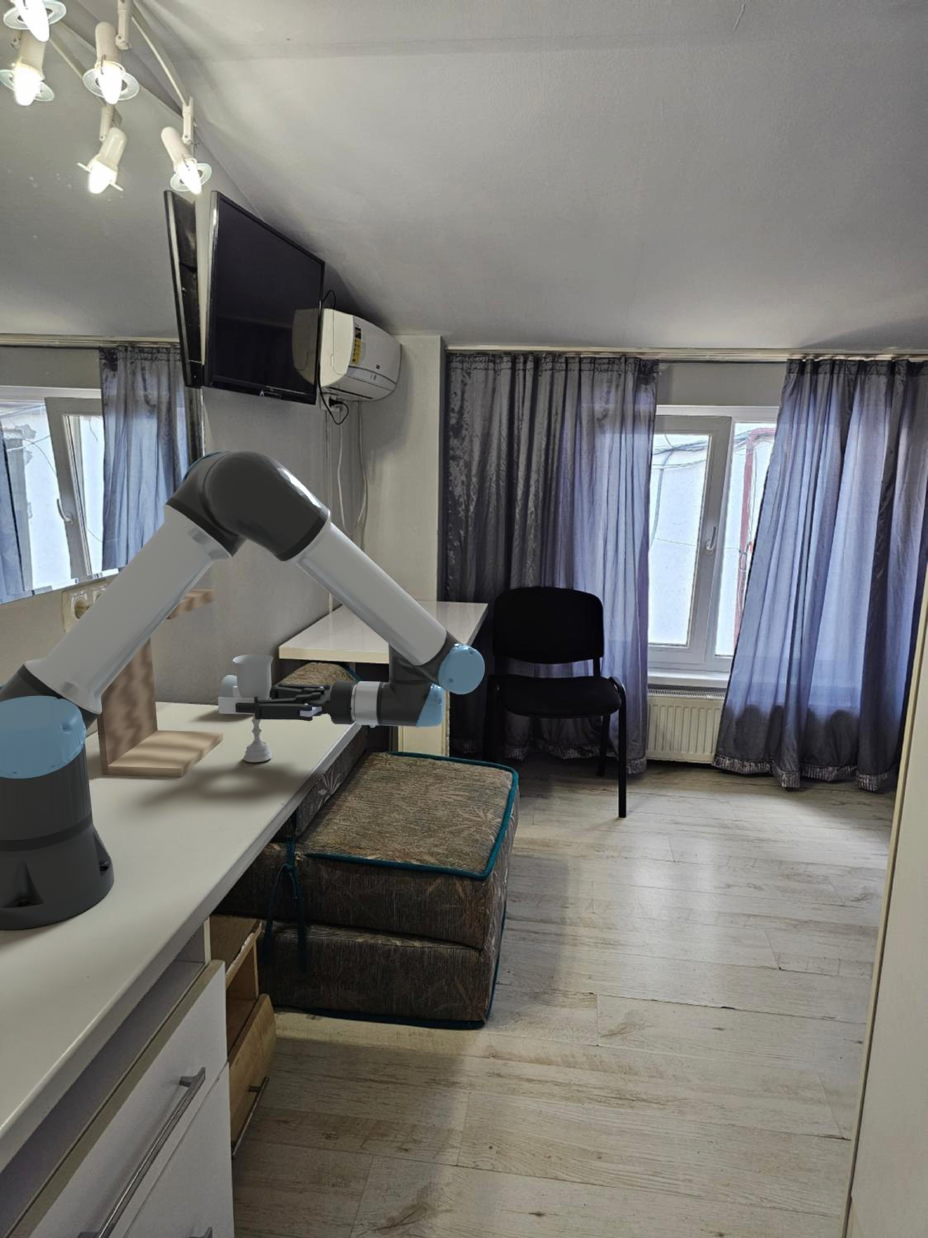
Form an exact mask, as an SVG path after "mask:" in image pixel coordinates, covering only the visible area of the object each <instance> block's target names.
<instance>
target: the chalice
mask: <svg viewBox="0 0 928 1238" xmlns="http://www.w3.org/2000/svg"><path fill="white" fill-rule="evenodd" d="M273 661H274V657H273V656H272V655H269V654H264V653H252V654H251V653H248V654H242V655H238V656H235V657H234V658H233V659H232V662H233V664H234V665H235V668H236V669H235V671H236V676H237V688H238V690H239V693H240V695H241V698H254V697H255V696H258V700H267V698H268V696H269V692H270V689H271V687H272V667H271V666H272V665H271V664H272V662H273ZM252 715H253V716H252V719H251V723H252V724H253V728H252V730H251V733H252V734H253V736H254V738H253V741H252V742H251V743H248V745H247V747H246V750H245V751H244V755H243V758H242V759H243V760H244V761H246V762H250V763H259V762H260V763H261V762H265V761H268V760H269V759H272V758H273V753H272V752H271V749H270V748H269V745H268V744H267V742H264V741H262V740H261V738H260V734H261V732H262V729H261V728H260V723H261V721H262V720H257V719H255V714H252Z"/></svg>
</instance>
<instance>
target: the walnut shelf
mask: <svg viewBox="0 0 928 1238" xmlns="http://www.w3.org/2000/svg"><path fill="white" fill-rule="evenodd" d="M215 600H216V599H215V589H199V588H198V589H197V588H196V589H195V588H192V589H191V590H190V591H189V592H188V593H187V594H186V596H185V597H184V598H183V599H182V600H181V602H180V603H179V604H178V605H177V606H176V607H175V609H174V610H173V611H172V612H171V613H170V615H169V616H168V617H167V618H166V619H165V620H172V619H175V618H177V617H180V616H182V615H185V614H186V613H189V612H192V611H194V610H195V609H198V608H200V607H203V606H205V605H207V604H210V603H212V602H214V601H215ZM92 604H93V603H90V604H88V605H85V606H86V607H85V608H86V610H85V611H87V610H88V609H89V608H90V606H91V605H92ZM151 641H152V640H151V637H150V638H149V639H148V640H147V642H146V643H145V644H144V645H143V646H142V648H141V649H140V650H139V651H138V652H137V653H136V655H135V656H134V657H133V658H132V659H131V661H130V662H129V663H128V664H127V665H126V666H125V668H124V669H123V670H122V671H121V672H120V674H119V675H118V676H117V677H116V678H115V679H114V681H113V682H112V683H111V684H110V685H109V686H108V688H107V689H106V690H105V691H104V692H103V694H102V695H101V704H102V712H101V714H100V715H99V716H98V717H97V718H96V724H97V728H96V729H97V736H98V746H99V747H98V748H99V749H98V750H99V757H100V769H101V775H116V776H117V775H119V776H120V775H121V776H122V775H123V776H143V777H144V776H147V777H176V778H178V777H179V778H182V777H184V776H185V775H186V774H187V773H188V772H189V771H190V770H192V768H194V766H196V765H197V764H198V763H199V762H200V761H201V760H202V759H203V758H205V757H206V755H208V754H209V753H210V752H211V751H212V750H213V749H214V748H216V747H217V746H218V745H219V744H220V743H221V742H222V741H223V740H224V737H223V736H224V735H223V734H224V733H223V731H197V730H196V731H195V730H193V731H192V730H167V729H165V730H164V729H163V730H161V729H158V720H157V719H158V717H157V707H156V706H157V705H156V703H157V702H156V693H155V692H156V691H155V690H156V689H155V680H154V665H153V655H152V653H153V652H152V642H151Z"/></svg>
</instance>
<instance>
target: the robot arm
mask: <svg viewBox="0 0 928 1238" xmlns="http://www.w3.org/2000/svg"><path fill="white" fill-rule="evenodd" d="M181 480H182V481H181V483H180V487H178V488H177V490H176V491H175V492H174V493H173V494H172V495H171V497H170V498H169V499H168V500H167V501H166V502H165V504H164V505H163V506H162V510H163V518H164V519H163V520H164V521H163V523H162V524H161V525H160V527H158V529H157V530H155V531H156V532H154V533H153V534H152V536H151V537H150V538H149V539H148V540H147V542H145V544H144V545H143V546H141V548H140V549H139V551H138V552H137V553H136V554H135V555H134V556H133V558H131V559H130V561H129V562H128V563H127V564H126V565H125V567H124V568H122V570H121V571H120V572H119V573H118V574H117V576H116V577H115V578H114V579H113V580H112V581H111V582H110V583H109V585H107V587H106V588H104V590H103V592H102V593H101V594H100V595H99V596H98V597H97V599H96V600H94V601H93V603H91V604H92V605H91V606H90V608H89V609H88V610H85V612H84V613H83V614H82V615H81V617H79V619H77V621H76V623H75V624H73V625H72V627H71V628H70V629H69V630H68V631H67V632H66V634H65V635H64V636H63V637H62V638H61V640H60V641H58V643H57V644H56V645H55V646H54V647H53V649H52V650H51V651H50V652H49V653H48V654H47V655H46V656H45V657H43V658H39V659H38V658H37V659H31V660H26V661H25V662H24V663H23V664H22V665H21V666H20V667H19V669H18V670H17V671H16V672H15V673H14V674H13V675H12V676H11V677H10V679H8V681H7V682H5V683H3V684H1V685H0V930H22V929H30V928H36V927H42V926H46V925H49V924H54V923H57V922H60V921H64V920H66V919H70V918H71V917H73V916H76V915H78V914H80V913H83V912H84V911H86V910H88V909H90V908H91V907H93V906H94V905H96V904H97V903H99V902H100V901H101V900H103V899H104V898H105V897H106V896H107V895H108V893H109V892H110V891H111V890H112V888H113V887H114V884H115V875H114V874H115V872H114V864H113V861H112V857H111V856H110V854H109V852H108V850H107V848H106V846H105V844H104V842H103V840H102V839H101V837H100V834H99V832H98V830H97V829H96V826H95V823H94V819H93V811H92V810H93V809H92V808H93V807H92V798H91V797H92V796H91V790H90V779H89V770H88V769H89V768H88V759H87V747H86V739H87V731H88V729H89V728H90V727H91V726H92V724H93V723H94V722H95V721H97V717H98V716H99V715H100V714H101V712H102V704H101V695H102V694H103V692H104V691H105V690H106V689H107V688H108V686H109V685H110V684H111V683H112V682H113V681H114V679H115V678H116V677H117V676H118V675H119V674H120V672H121V671H122V670H123V669H124V668H125V666H126V665H127V664H128V663H129V662H130V661H131V659H132V658H133V657H134V656H135V655H136V653H137V652H138V651H139V650H140V649H141V648H142V646H143V645H144V644H145V643H146V642H147V640H148V639H149V638H151V637H152V636H153V635H154V633H155V632H156V631H157V629H159V627H160V626H162V624H163V623H164V621H166V620H167V619H166V618H167V617H168V616H169V615H170V613H171V612H172V611H173V610H174V609H175V607H176V606H177V605H178V604H179V603H180V602H181V600H182V599H183V598H184V597H185V596H186V594H187V593H188V592H189V591H190V590H191V589H193V587H194V586H196V584H197V583H198V582H199V581H200V579H201V578H202V577H203V576H204V575H205V573H206V572H207V571H208V570H209V569H210V567H211V566H212V565H213V564H214V563H216V562H218V561H219V562H221V561H227V560H228V561H229V560H231V559H232V558H233V557H234V556H235V555H236V553H238V551H239V550H240V549H241V547H242V546H243V545H244V544H245V543H246V542H247V541H250V542H252V543H254V544H256V545H258V546H260V547H261V548H263V549H264V550H266V551H268V552H269V553H270V554H272V555H273V556H274V557H275V558H276V559H277V560H279V561H280V562H281V563H283V564H286V563H293V564H295V565H296V566H297V567H298V568H299V569H300V570H302V571H303V572H304V573H305V574H306V575H307V576H308V577H310V578H311V579H312V580H314V581H315V582H316V584H319V586H320V587H322V588H323V589H324V590H325V591H326V592H327V593H328V594H330V595H331V596H332V597H333V598H335V600H337V601H338V602H339V603H340V604H341V605H342V606H344V607H345V608H346V609H348V611H350V612H351V613H352V614H353V615H355V616H356V617H357V619H359V620H360V621H361V622H363V624H365V625H366V626H367V627H369V628H370V630H372V631H373V632H374V633H375V634H377V635H378V636H379V637H380V638H381V639H382V640H384V641H385V642H386V643H387V644H388V646H387V647H388V670H389V671H388V672H389V673H388V674H389V675H388V679H389V680H388V682H387V681H386V682H385V681H364V680H363V681H362V680H360V681H358V683H356V681H353V680H352V681H349V680H337V681H334V682H333V684H332V686H331V684H305V683H304V684H301V683H298V684H297V683H282V682H280V683H277V684H276V685H271V689H270V692H269V696H268V698H267V700H258V696H255V697H254V698H241V695H240V693H239V690H238V688H237V686H234V687H233V697H219V698H217V704H218V705H217V708H218V714H224V715H225V714H232V715H253V714H255V719H257V720H261V721H262V720H271V721H272V720H274V721H275V720H278V721H280V720H283V721H287V720H288V721H292V720H294V721H304V722H312V721H313V719H314V718H313V717H322V715H329V716H330V721H331V722H332V724H334V725H351V726H352V725H353V724H355V722H356V724H357V725H358V726H360V725H361V726H369V727H370V728H375V727H376V726H392V727H406V728H407V727H409V728H410V727H411V728H412V727H413V728H431V727H439V726H440V725H442V723H443V722H444V719H445V710H446V694H445V693H446V692H448V693H449V692H451V693H453V694H456V695H466V694H469V693H471V692H473V691H474V690H475V689H476V688H478V686H479V685H480V684H481V682H482V680H483V677H484V675H485V667H486V666H485V660H484V658H483V656H482V654H481V652H479V651H478V650H477V649H475V648H473V647H472V646H471V645H469V644H466V643H462V642H461V641H459V639H458V638H456V637H455V636H454V635H453V634H452V633H451V632H450V631H448V630H447V629H446V628H445V627H444V626H443V625H442V624H440V622H438V620H437V619H436V618H435V617H434V616H432V614H431V613H429V612H428V611H427V610H426V609H425V608H424V607H423V606H421V605H420V604H419V603H418V601H416V600H415V599H414V598H413V597H412V596H411V595H410V594H409V593H407V592H406V590H404V589H403V588H402V587H401V586H400V585H399V584H398V583H397V582H396V580H394V579H393V578H392V577H390V576H389V574H387V573H386V572H385V570H383V569H382V568H381V567H380V566H379V565H378V564H376V562H374V561H373V559H371V558H370V557H369V556H368V555H367V554H366V553H365V552H364V551H363V550H362V549H361V548H360V547H359V546H358V545H356V543H354V542H353V541H352V540H351V539H350V538H349V537H348V536H347V535H346V534H345V533H343V532H342V531H341V529H339V528H338V527H337V526H336V525H335V523H333V522H332V521H331V511H330V509H329V508H328V507H327V506H325V504H323V503H322V502H321V500H320V499H318V498H317V497H316V496H315V495H314V494H313V493H312V492H311V491H310V490H309V489H308V488H307V486H305V484H303V483H302V482H301V481H300V480H299V479H298V478H297V477H296V476H295V475H294V474H293V473H292V472H291V471H289V470H288V469H287V467H285V466H284V465H283V464H281V463H280V462H279V461H278V460H276V459H275V458H273V457H272V456H269V455H267V454H265V453H263V452H258V451H255V450H241V451H233V450H219V451H214V452H210V453H208V454H206V455H203V456H202V457H200V458H198V459H197V460H196V461H194V462H193V463H192V464H191V465H190V466H189V467H188V469H187V470H186V472H185V474H184V476H183V478H182V479H181Z"/></svg>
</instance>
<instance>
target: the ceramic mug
mask: <svg viewBox="0 0 928 1238" xmlns="http://www.w3.org/2000/svg"><path fill="white" fill-rule="evenodd" d="M234 686H237V675H233V674H229V675H228V674H227V675H225V676H224V677H223V679H222V680H221V683H220V684H219V689H218V694H217V695H218V698H219V697H233V687H234ZM218 698H217V699H218Z"/></svg>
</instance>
